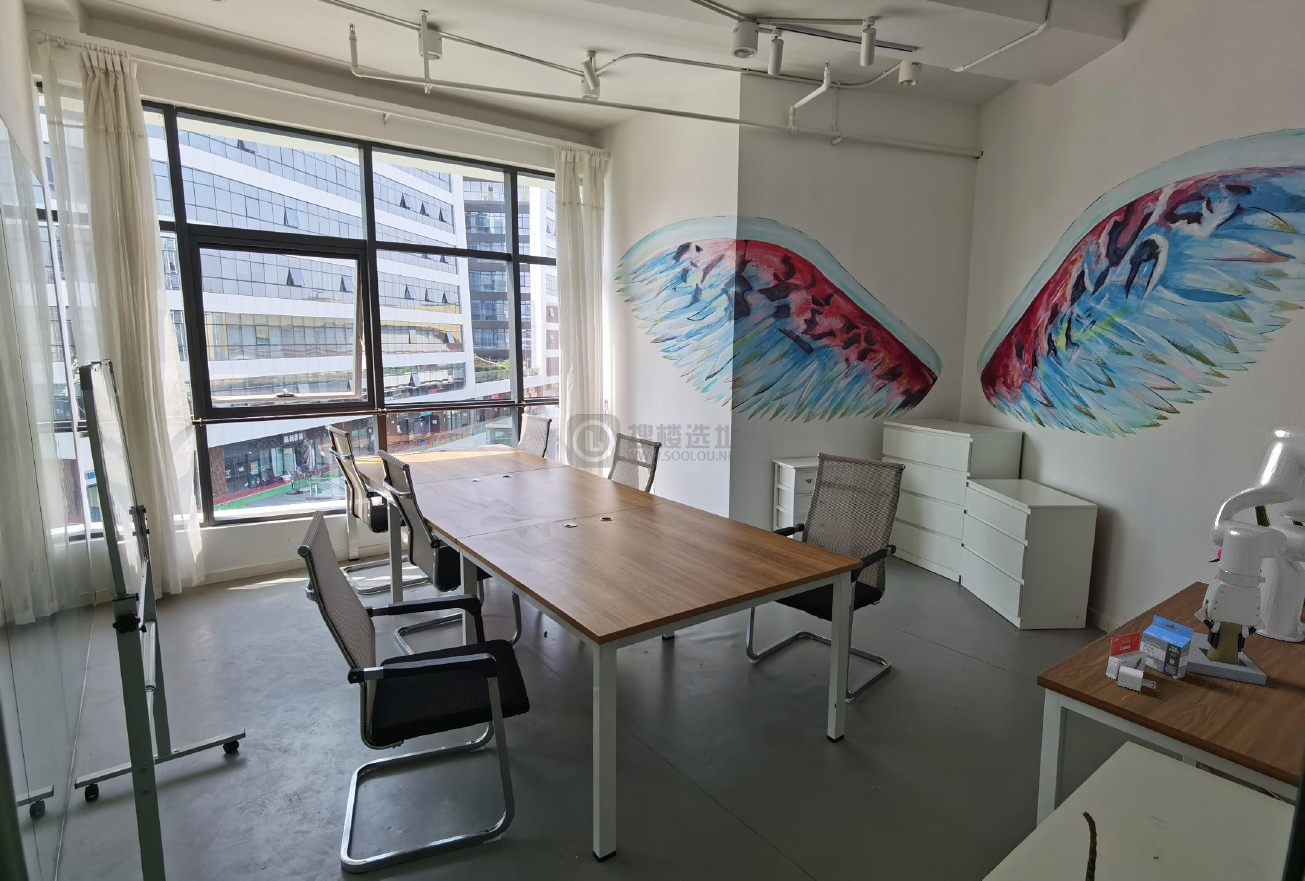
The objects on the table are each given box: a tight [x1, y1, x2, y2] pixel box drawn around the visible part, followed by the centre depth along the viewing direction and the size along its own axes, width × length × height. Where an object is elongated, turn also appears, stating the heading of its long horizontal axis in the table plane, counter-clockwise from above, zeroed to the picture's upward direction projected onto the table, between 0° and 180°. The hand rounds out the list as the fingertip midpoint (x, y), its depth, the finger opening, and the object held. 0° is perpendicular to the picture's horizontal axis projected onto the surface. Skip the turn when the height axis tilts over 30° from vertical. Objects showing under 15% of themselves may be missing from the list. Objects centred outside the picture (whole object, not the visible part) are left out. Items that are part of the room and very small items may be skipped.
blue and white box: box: [1139, 614, 1194, 680], centre depth 159 cm, size 9×4×12 cm, turn 23°
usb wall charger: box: [1116, 665, 1157, 693], centre depth 150 cm, size 4×7×4 cm, turn 50°
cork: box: [1207, 622, 1243, 665], centre depth 162 cm, size 6×6×11 cm
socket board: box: [1173, 628, 1268, 686], centre depth 167 cm, size 16×22×2 cm
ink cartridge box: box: [1105, 631, 1147, 681], centre depth 157 cm, size 2×11×10 cm, turn 113°
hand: (1224, 647), depth 162 cm, fingers closed on cork, 4 cm apart
